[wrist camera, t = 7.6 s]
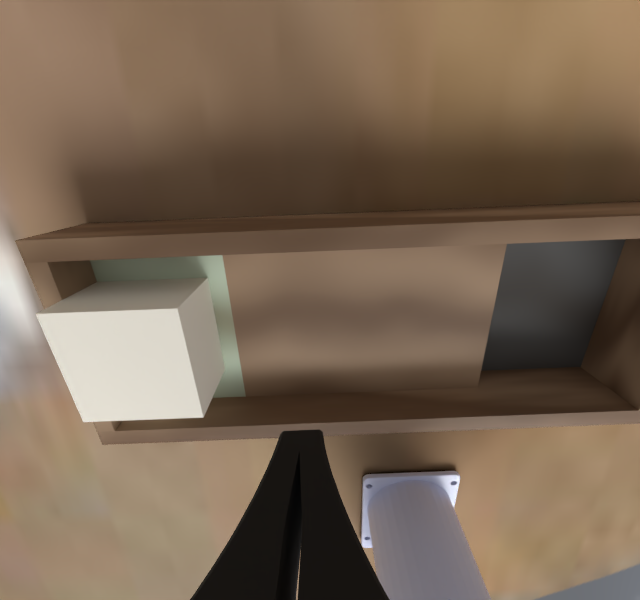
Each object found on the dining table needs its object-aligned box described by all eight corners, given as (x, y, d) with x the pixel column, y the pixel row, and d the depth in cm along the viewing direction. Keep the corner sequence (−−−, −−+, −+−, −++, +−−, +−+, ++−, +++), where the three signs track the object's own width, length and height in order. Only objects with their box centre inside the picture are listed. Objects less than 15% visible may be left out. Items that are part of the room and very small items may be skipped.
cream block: (225, 369, 19) (203, 417, 15) (128, 373, 19) (83, 422, 15) (207, 277, 17) (177, 308, 13) (97, 281, 17) (35, 313, 13)
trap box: (587, 375, 22) (649, 423, 18) (142, 393, 22) (102, 444, 18) (651, 200, 17) (756, 210, 13) (86, 223, 17) (14, 240, 13)
